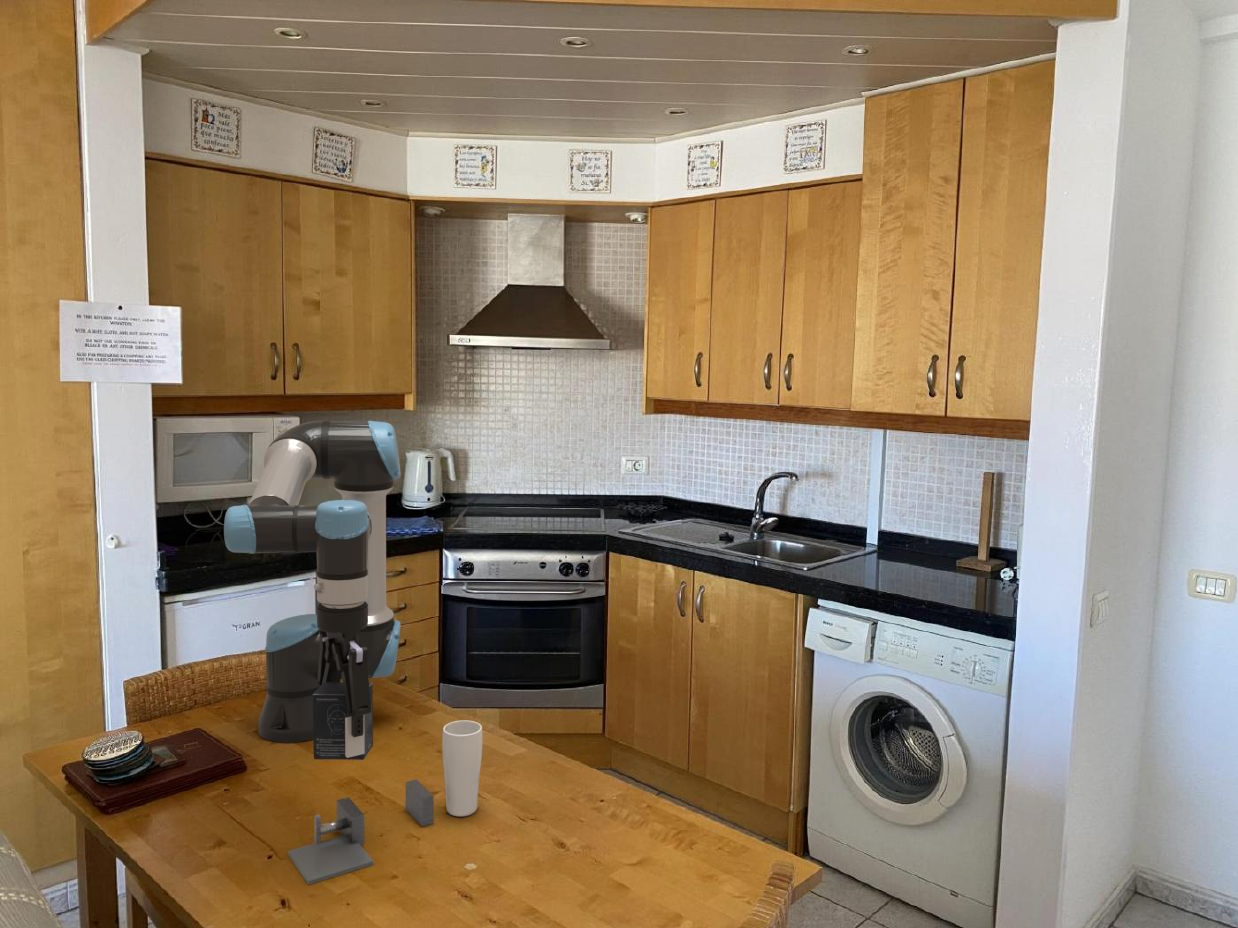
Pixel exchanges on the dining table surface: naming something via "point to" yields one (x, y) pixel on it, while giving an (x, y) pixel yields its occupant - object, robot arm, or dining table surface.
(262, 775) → the dining table surface
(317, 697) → the box
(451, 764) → the drinking glass
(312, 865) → the mat
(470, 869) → the dining table surface
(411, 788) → the vise
